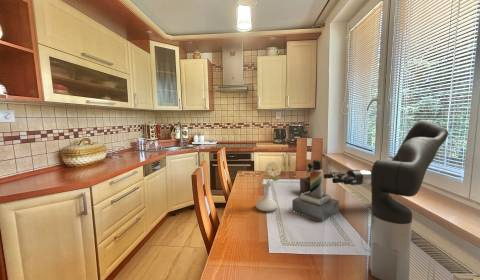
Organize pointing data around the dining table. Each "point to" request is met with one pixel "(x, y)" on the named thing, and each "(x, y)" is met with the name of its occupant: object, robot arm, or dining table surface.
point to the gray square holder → (316, 206)
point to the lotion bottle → (316, 180)
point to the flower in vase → (266, 201)
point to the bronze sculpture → (306, 181)
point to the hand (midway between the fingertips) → (328, 178)
